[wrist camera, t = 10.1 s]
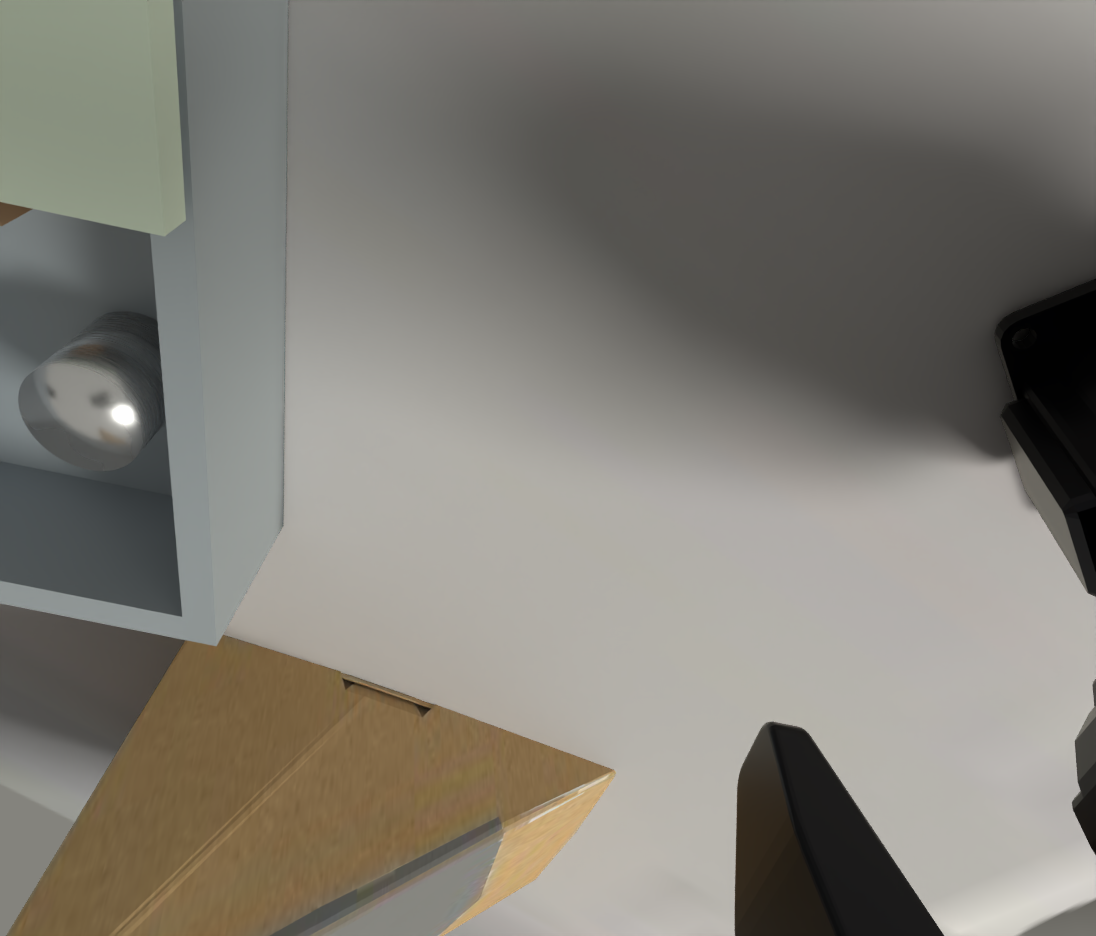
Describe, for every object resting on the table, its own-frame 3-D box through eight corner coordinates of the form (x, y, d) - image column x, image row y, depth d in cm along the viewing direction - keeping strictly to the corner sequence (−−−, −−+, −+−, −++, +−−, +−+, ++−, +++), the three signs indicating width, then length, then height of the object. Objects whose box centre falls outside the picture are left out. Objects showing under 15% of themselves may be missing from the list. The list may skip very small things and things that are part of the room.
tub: (-250, -250, 16) (-542, -289, 12) (289, -131, 16) (175, -130, 12) (-60, 456, 25) (-191, 565, 21) (283, 525, 25) (216, 646, 21)
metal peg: (139, 291, 21) (76, 344, 19) (217, 384, 22) (167, 443, 20) (61, 340, 22) (-8, 396, 20) (139, 425, 23) (84, 487, 21)
